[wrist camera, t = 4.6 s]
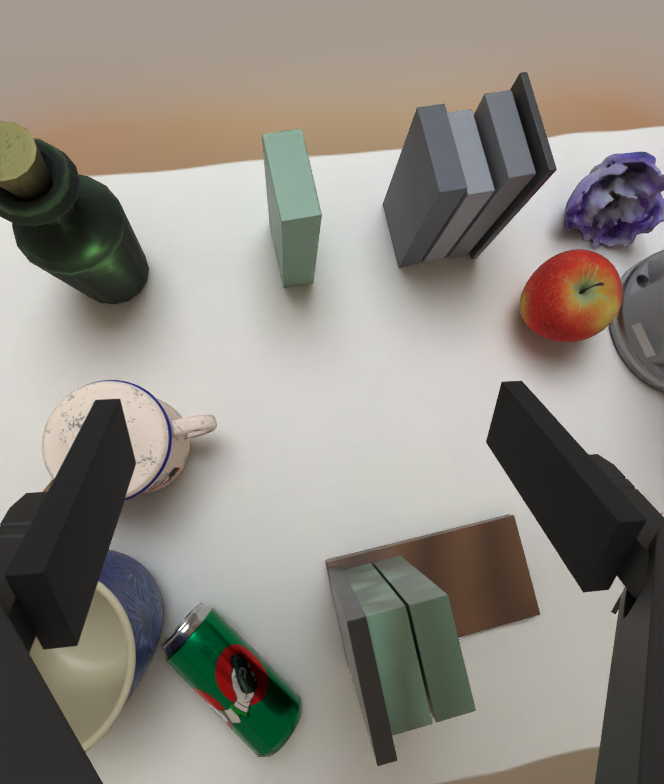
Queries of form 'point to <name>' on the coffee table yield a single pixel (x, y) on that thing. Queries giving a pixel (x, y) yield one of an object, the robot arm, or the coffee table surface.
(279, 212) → the green book
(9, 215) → the potion bottle
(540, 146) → the grey books
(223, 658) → the soda can
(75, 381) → the coffee table surface
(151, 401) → the teacup with lid
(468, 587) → the book rack
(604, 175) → the flower
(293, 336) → the coffee table surface
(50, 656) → the planter
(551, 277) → the apple
